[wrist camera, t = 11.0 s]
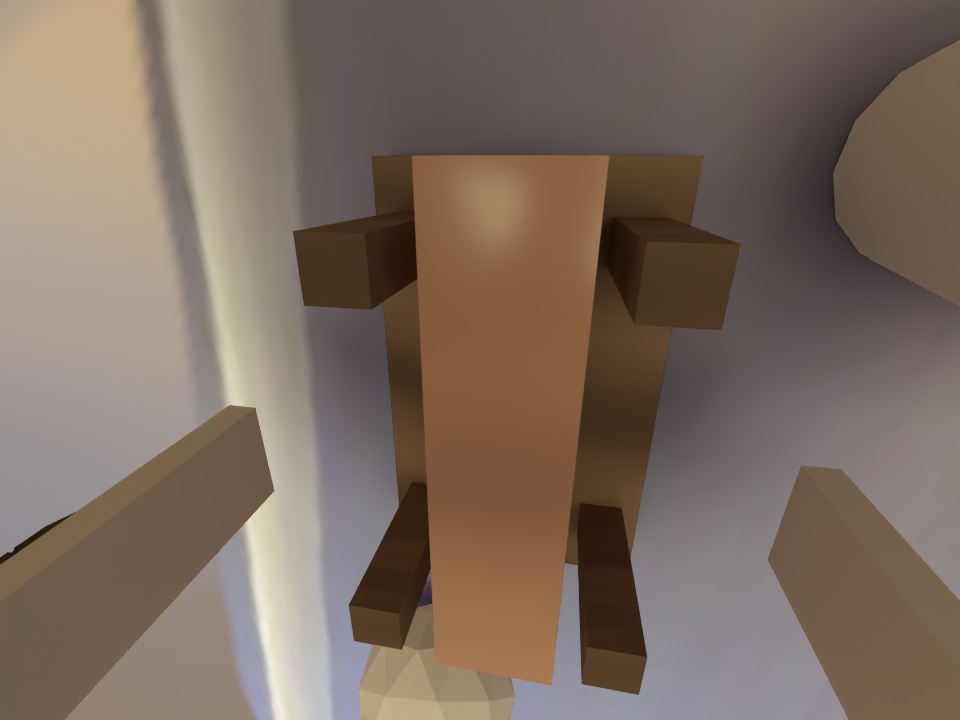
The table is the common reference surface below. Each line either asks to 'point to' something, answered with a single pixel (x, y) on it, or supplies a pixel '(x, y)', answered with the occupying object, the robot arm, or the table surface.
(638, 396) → the rack
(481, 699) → the cream rounded egg shape
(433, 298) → the clay bar
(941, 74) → the foam cup
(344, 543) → the table surface
